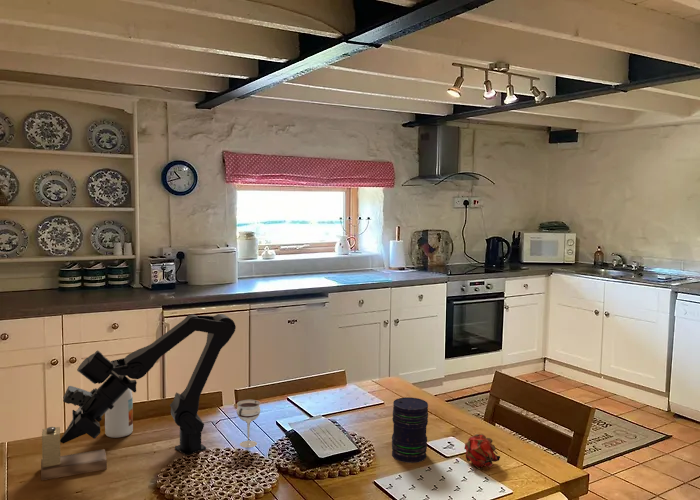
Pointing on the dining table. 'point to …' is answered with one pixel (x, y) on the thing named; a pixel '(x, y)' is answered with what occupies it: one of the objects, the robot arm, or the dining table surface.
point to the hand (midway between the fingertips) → (61, 442)
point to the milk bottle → (120, 416)
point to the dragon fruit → (481, 451)
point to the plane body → (76, 464)
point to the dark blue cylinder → (409, 429)
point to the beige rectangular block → (51, 446)
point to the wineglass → (248, 417)
